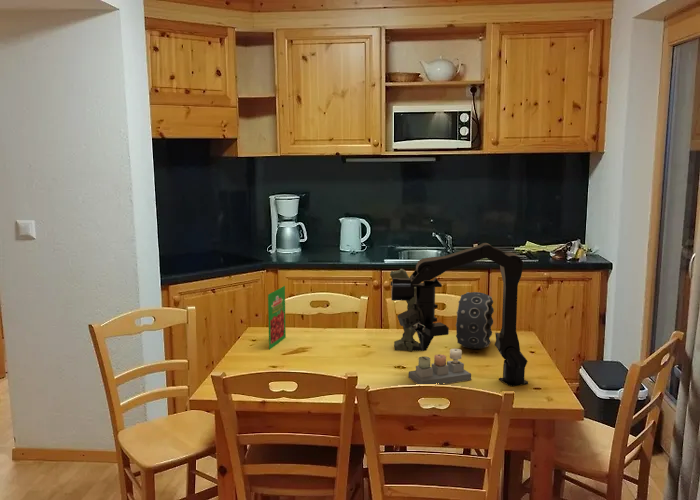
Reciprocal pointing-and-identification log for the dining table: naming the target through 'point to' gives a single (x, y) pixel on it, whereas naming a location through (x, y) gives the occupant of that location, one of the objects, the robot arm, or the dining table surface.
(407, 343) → the mechanical leg
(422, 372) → the grey button panel
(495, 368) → the dining table surface
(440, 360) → the terracotta key
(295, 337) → the dining table surface
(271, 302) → the tomato puree packet
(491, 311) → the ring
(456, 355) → the cream key
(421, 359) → the sage key
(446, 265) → the robot arm
